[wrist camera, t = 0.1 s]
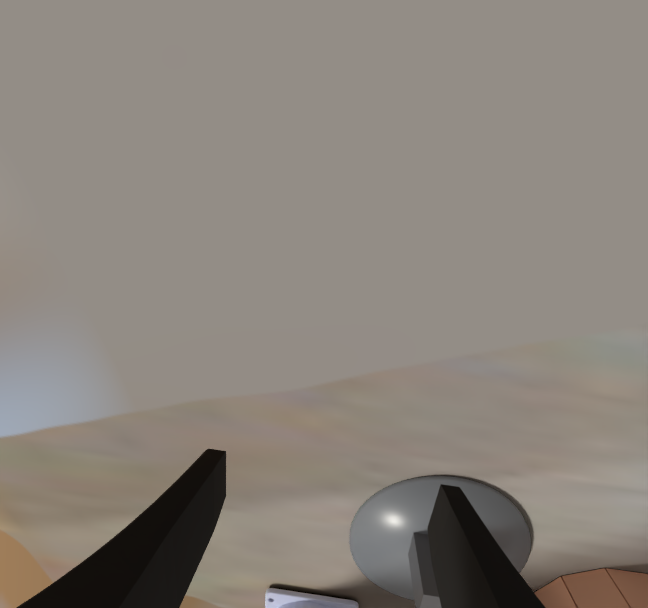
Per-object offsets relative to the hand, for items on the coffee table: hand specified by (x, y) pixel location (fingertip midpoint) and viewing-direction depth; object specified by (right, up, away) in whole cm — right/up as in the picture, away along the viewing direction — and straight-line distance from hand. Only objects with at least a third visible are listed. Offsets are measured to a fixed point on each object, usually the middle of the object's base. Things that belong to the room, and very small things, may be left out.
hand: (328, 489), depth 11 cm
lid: (+8, -12, +15) cm, 21 cm away
